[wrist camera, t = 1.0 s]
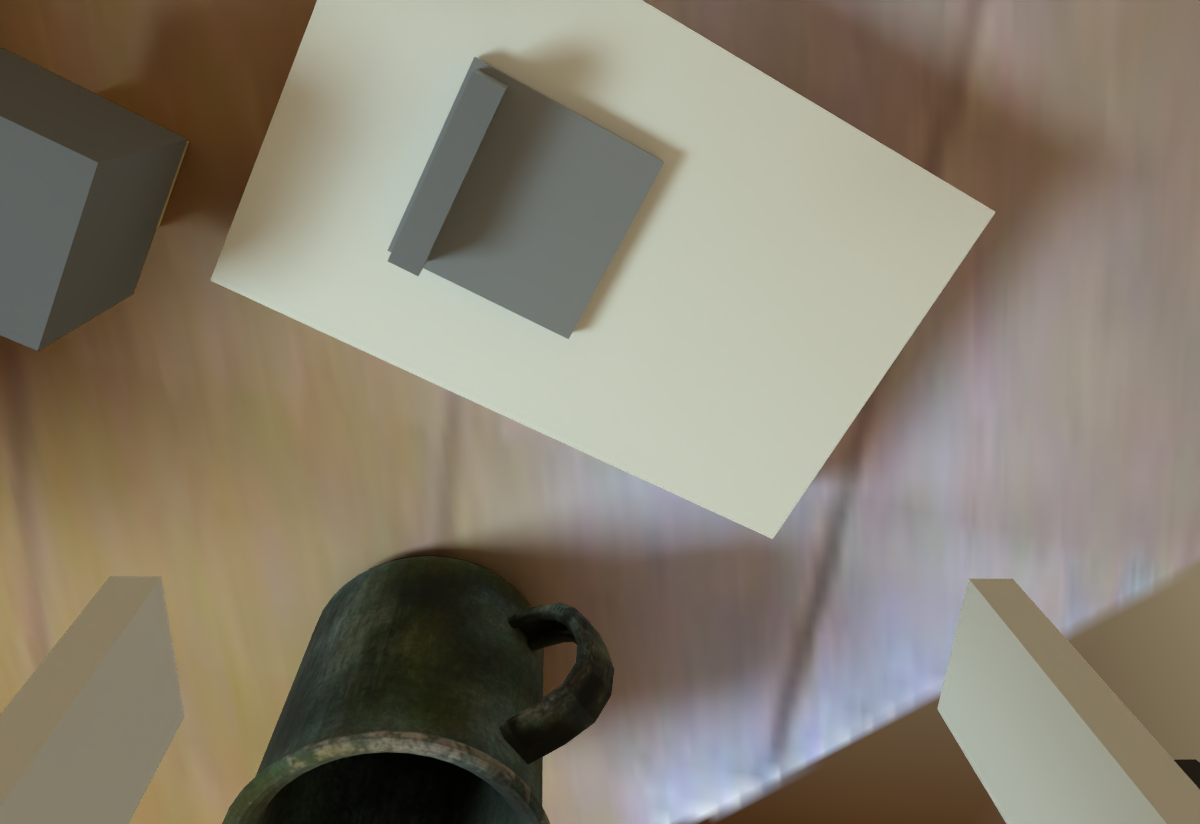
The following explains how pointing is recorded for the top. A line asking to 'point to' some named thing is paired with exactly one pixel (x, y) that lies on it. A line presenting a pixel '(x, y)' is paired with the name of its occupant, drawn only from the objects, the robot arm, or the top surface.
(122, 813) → the robot arm
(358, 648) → the mug
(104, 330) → the top surface
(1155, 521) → the top surface
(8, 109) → the plug
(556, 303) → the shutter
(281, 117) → the socket
